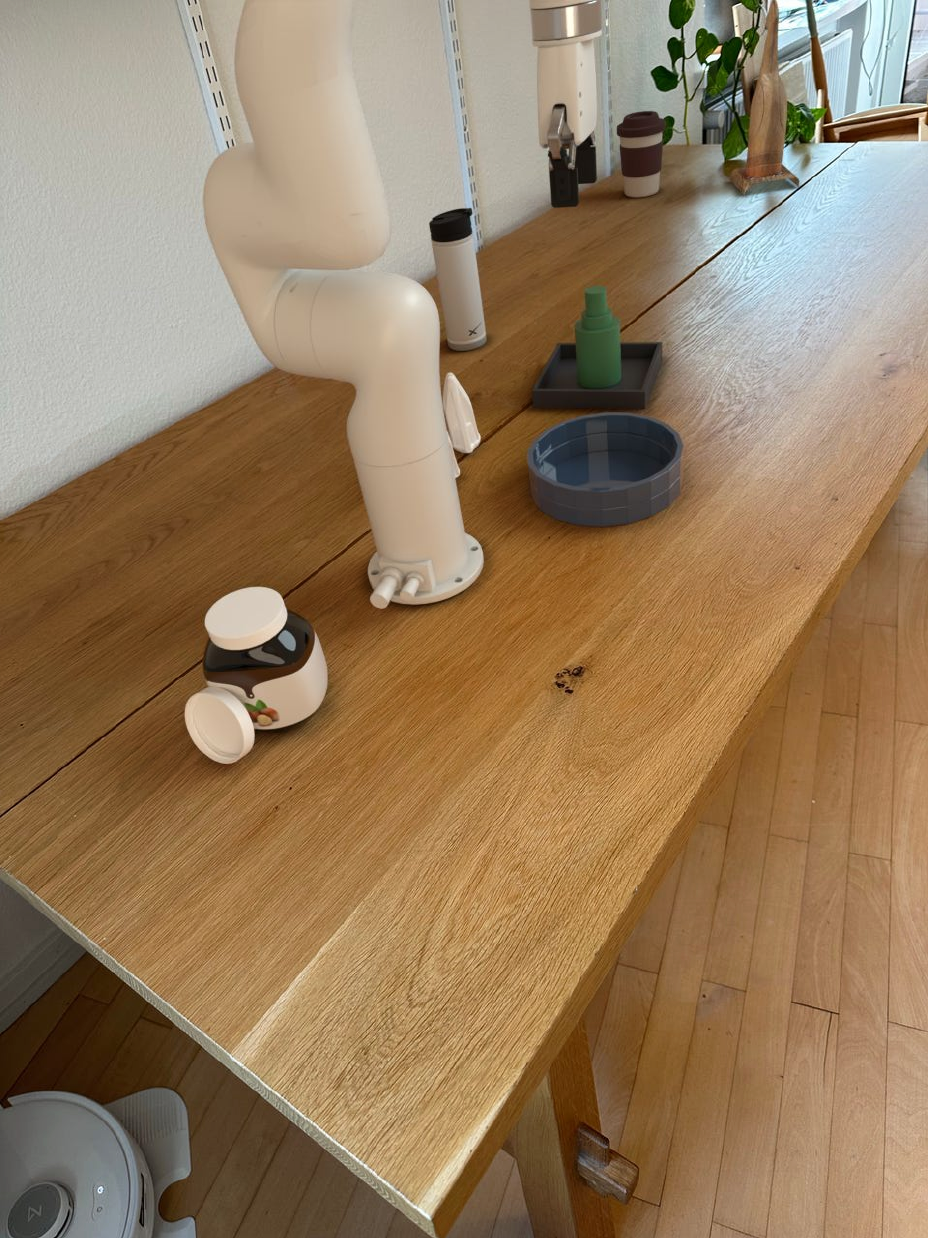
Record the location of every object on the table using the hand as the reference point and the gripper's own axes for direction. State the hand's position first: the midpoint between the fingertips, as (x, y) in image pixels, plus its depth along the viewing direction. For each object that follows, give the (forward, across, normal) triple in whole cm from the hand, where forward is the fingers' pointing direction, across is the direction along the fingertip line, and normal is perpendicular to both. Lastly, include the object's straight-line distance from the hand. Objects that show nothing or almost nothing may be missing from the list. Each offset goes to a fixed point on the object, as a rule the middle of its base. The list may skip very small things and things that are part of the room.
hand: (574, 194), depth 105 cm
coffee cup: (+24, -92, -8) cm, 96 cm away
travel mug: (+26, -16, -23) cm, 38 cm away
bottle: (+25, -3, +2) cm, 25 cm away
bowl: (+26, +23, +8) cm, 36 cm away
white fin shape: (+26, +20, -12) cm, 35 cm away
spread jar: (+27, +66, -15) cm, 73 cm away
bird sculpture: (+24, -93, +17) cm, 97 cm away
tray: (+26, -2, +2) cm, 26 cm away
